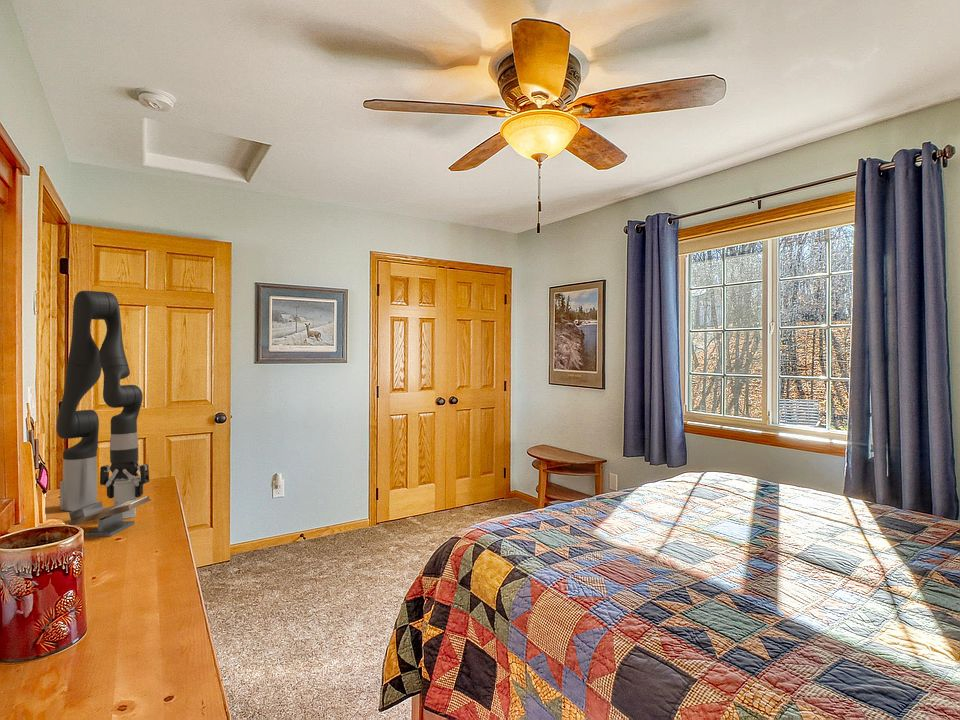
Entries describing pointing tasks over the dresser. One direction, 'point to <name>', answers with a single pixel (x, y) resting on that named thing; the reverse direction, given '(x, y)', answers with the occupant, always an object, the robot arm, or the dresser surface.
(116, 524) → the fulcrum
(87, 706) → the dresser surface
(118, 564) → the dresser surface
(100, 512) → the seesaw beam
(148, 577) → the dresser surface
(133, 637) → the dresser surface
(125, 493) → the skincare box
